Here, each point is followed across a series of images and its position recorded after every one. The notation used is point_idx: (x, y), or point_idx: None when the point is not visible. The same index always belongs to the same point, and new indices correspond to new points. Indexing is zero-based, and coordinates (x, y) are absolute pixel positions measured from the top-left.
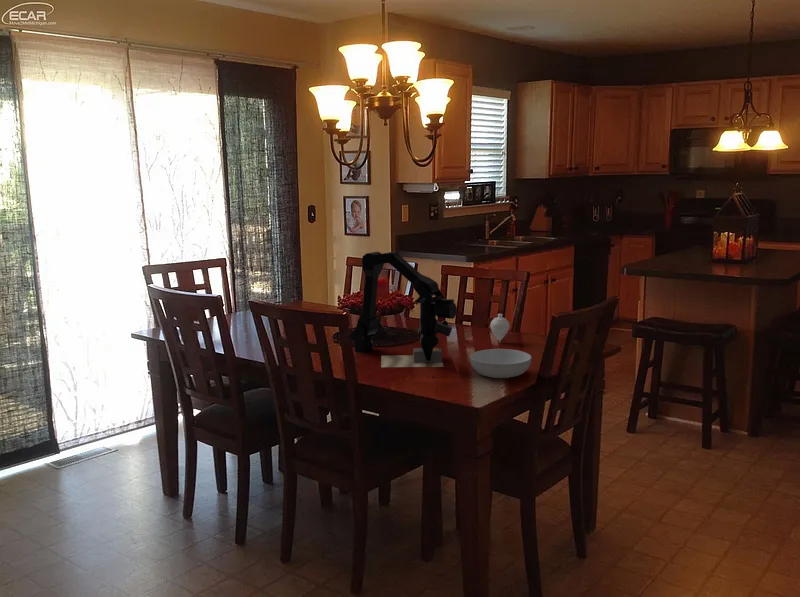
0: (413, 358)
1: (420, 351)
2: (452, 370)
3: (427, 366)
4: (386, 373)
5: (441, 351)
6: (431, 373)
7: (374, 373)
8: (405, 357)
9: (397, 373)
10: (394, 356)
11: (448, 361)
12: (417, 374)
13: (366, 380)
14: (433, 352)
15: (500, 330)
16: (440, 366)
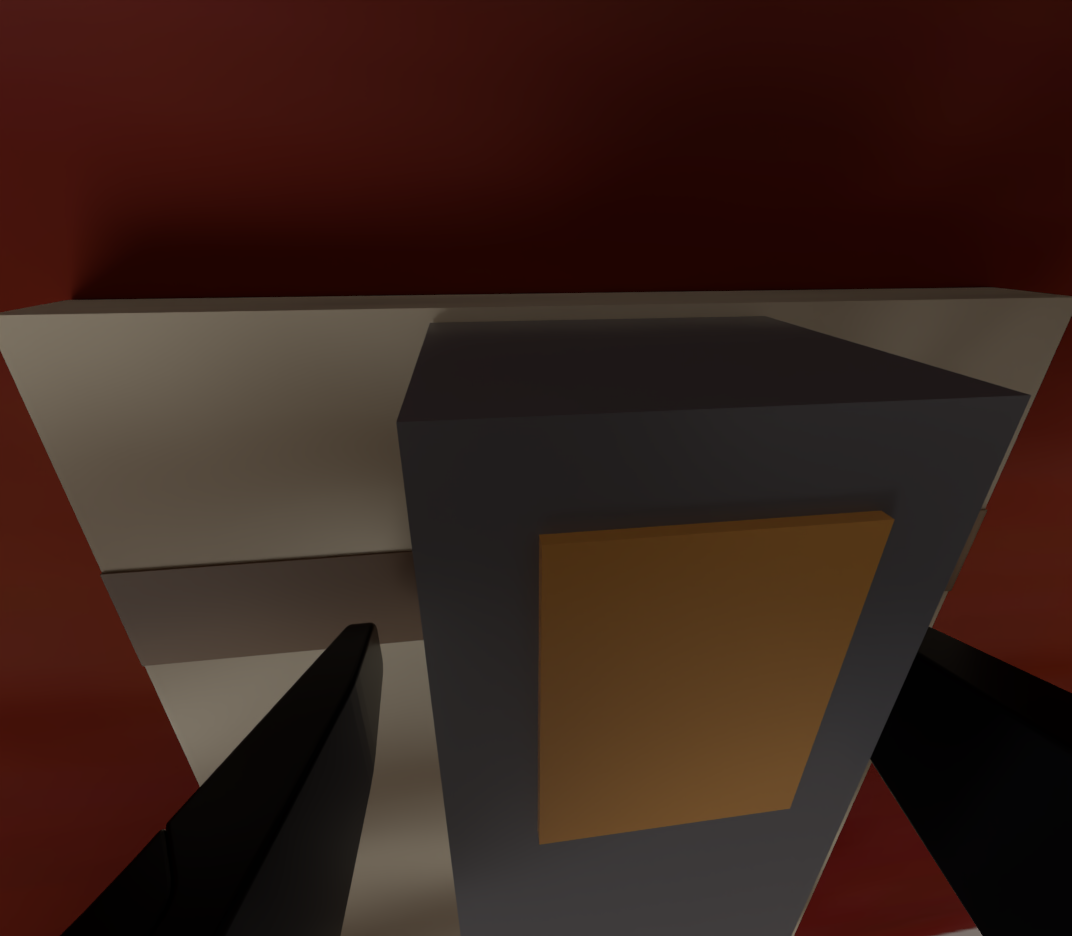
0: (429, 779)
1: (783, 902)
2: (1050, 82)
3: (952, 579)
4: (838, 860)
5: (1020, 413)
6: (1035, 484)
7: (807, 919)
8: (375, 861)
9: (872, 795)
10: None
11: (279, 84)
12: (992, 637)
13: (966, 918)
14: (884, 645)
15: None
16: (1044, 363)
